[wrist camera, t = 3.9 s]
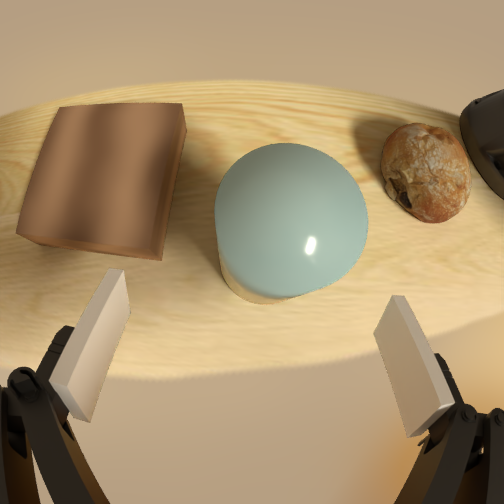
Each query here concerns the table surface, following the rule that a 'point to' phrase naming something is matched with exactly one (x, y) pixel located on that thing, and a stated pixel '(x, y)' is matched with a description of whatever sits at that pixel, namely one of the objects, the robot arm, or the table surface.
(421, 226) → the table surface
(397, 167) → the bread roll
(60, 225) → the pedestal
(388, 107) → the table surface
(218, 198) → the dome-topped cylinder
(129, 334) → the table surface
